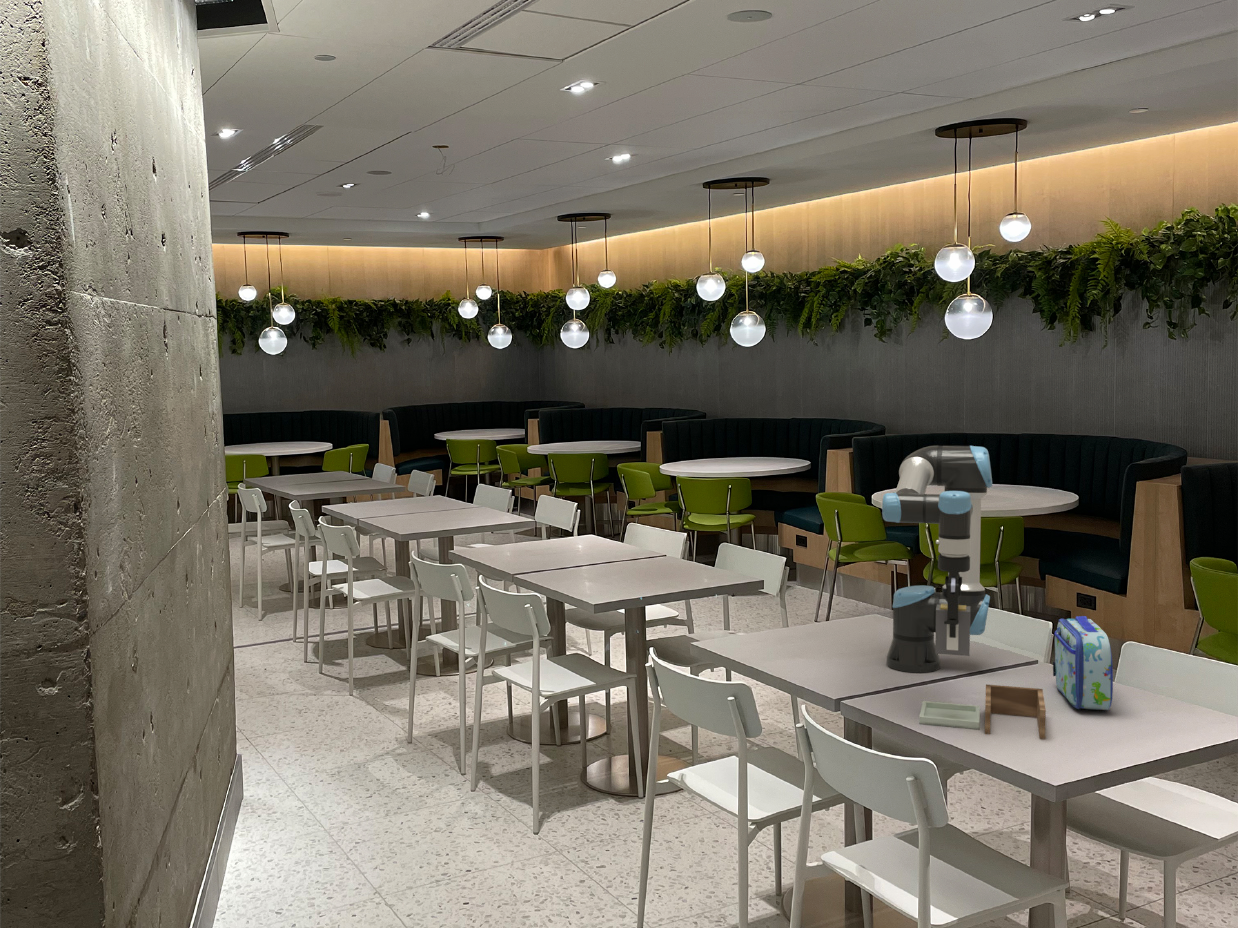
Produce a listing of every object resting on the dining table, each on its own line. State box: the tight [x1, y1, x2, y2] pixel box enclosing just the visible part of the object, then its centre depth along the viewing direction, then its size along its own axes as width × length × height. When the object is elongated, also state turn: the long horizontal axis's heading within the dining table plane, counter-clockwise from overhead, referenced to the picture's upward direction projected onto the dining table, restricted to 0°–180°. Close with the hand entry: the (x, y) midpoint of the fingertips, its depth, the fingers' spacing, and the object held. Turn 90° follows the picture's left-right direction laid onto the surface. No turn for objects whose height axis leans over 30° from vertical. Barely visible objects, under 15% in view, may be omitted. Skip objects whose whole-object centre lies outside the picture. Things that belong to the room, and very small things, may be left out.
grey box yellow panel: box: [934, 604, 971, 657], centre depth 263 cm, size 6×8×11 cm
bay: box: [984, 684, 1047, 740], centre depth 260 cm, size 17×13×7 cm
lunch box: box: [1052, 615, 1114, 711], centre depth 278 cm, size 26×11×21 cm, turn 168°
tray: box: [918, 700, 981, 730], centre depth 266 cm, size 13×14×2 cm
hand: (952, 645), depth 264 cm, fingers closed on grey box yellow panel, 6 cm apart
